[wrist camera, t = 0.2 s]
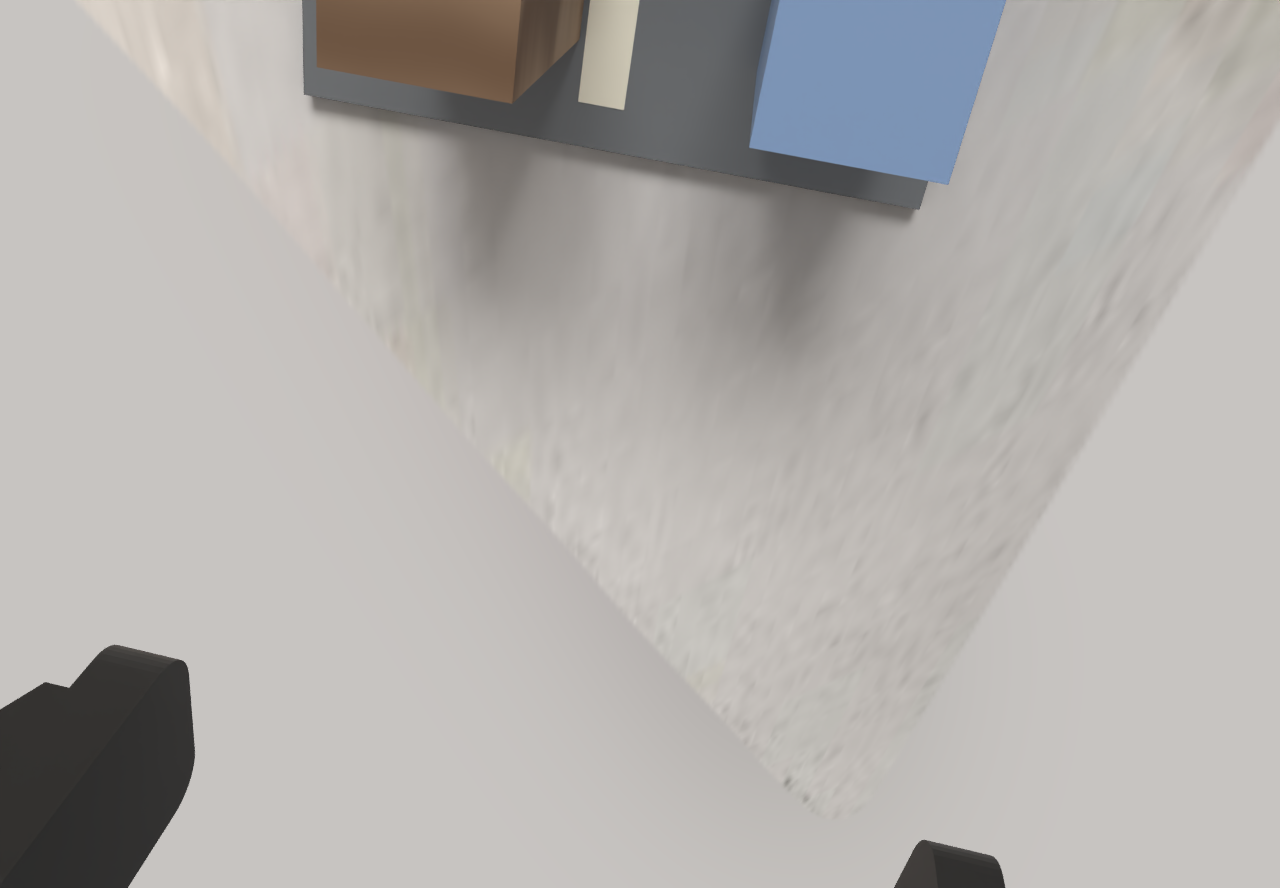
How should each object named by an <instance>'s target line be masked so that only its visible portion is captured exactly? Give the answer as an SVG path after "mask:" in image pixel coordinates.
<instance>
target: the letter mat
mask: <svg viewBox="0 0 1280 888" xmlns="http://www.w3.org/2000/svg"><path fill="white" fill-rule="evenodd" d="M770 5H771V0H584V5H583V13H582V22H581V31H580V39H579V40H578V41H577V42H576V43H575V44H574V45H573V46H572V47H571V48H570V49H569V50H568V51H567V52H566V53H565V54H564V55H563V56H562V57H561V58H560V59H559V60H557V61H556V62H555V63H554V64H553V65H552V66H551V67H550V68H549V69H548V70H547V71H546V72H545V73H544V74H543V75H542V76H541V77H540V78H539V79H538V80H537V81H535V82H534V83H533V84H532V85H531V86H530V87H529V88H528V89H527V90H526V91H525V92H524V93H523V94H522V95H521V96H520V97H519V98H518V99H517V100H516V101H515V102H513V103H512V104H511V103H505V102H500V101H495V100H489V99H484V98H479V97H473V96H468V95H463V94H457V93H452V92H447V91H441V90H436V89H430V88H425V87H420V86H414V85H409V84H404V83H398V82H393V81H388V80H382V79H377V78H372V77H366V76H361V75H355V74H350V73H345V72H339V71H334V70H329V69H323V68H318V67H317V46H316V0H302V8H303V71H304V95H310V96H315V97H320V98H326V99H331V100H336V101H342V102H347V103H352V104H358V105H363V106H368V107H374V108H379V109H384V110H390V111H395V112H400V113H406V114H411V115H416V116H422V117H427V118H432V119H438V120H443V121H448V122H454V123H459V124H464V125H470V126H475V127H480V128H486V129H491V130H496V131H502V132H507V133H512V134H518V135H523V136H528V137H534V138H539V139H544V140H550V141H555V142H560V143H566V144H571V145H576V146H582V147H587V148H592V149H598V150H603V151H608V152H614V153H619V154H624V155H630V156H635V157H640V158H646V159H651V160H656V161H662V162H667V163H672V164H678V165H683V166H688V167H694V168H699V169H704V170H710V171H715V172H720V173H726V174H731V175H736V176H742V177H747V178H752V179H758V180H763V181H768V182H774V183H779V184H784V185H790V186H795V187H800V188H806V189H811V190H816V191H822V192H827V193H832V194H838V195H843V196H848V197H854V198H859V199H864V200H870V201H875V202H880V203H886V204H891V205H897V206H902V207H907V208H913V209H918V210H919V209H920V206H921V203H922V199H923V196H924V193H925V190H926V186H927V183H928V181H925V180H920V179H915V178H909V177H904V176H899V175H893V174H888V173H883V172H877V171H872V170H866V169H861V168H856V167H850V166H845V165H840V164H834V163H829V162H824V161H818V160H813V159H808V158H802V157H797V156H791V155H786V154H781V153H775V152H770V151H765V150H759V149H754V148H749V143H750V134H751V124H752V114H753V104H754V94H755V85H756V75H757V69H758V64H759V59H760V54H761V49H762V44H763V39H764V34H765V29H766V24H767V19H768V15H769V10H770Z"/></svg>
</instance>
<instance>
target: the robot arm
mask: <svg viewBox="0 0 1280 888" xmlns="http://www.w3.org/2000/svg"><path fill="white" fill-rule="evenodd" d="M194 759H195V747H194V734H193V721H192V709H191V696H190V684H189V672H188V668H187V665H186V663H185V662H184V661H182V660H178V659H174V658H169V657H166V656H162V655H157V654H153V653H149V652H145V651H141V650H136V649H132V648H128V647H124V646H120V645H112V646H109V647H107V648H106V649H104V650H103V651H101V652H100V653H99V654H98V655H97V656H96V657H95V659H94V660H93V661H92V662H91V663H90V664H89V665H88V667H87V668H86V669H85V670H84V671H83V672H82V674H81V675H80V676H79V677H78V678H77V680H76V681H75V682H74V683H73V684H72V685H71V687H70V688H67V687H63V686H59V685H54V684H50V683H46V682H45V683H43V684H41V685H40V686H38V687H36V688H35V689H33V690H32V691H30V692H28V693H27V694H25V695H23V696H22V697H20V698H19V699H17V700H15V701H14V702H12V703H10V704H9V705H7V706H5V707H4V708H2V709H1V710H0V888H128V886H129V885H130V883H131V882H132V880H133V879H134V877H135V875H136V874H137V872H138V871H139V869H140V868H141V866H142V864H143V863H144V861H145V860H146V858H147V857H148V855H149V853H150V852H151V850H152V849H153V847H154V846H155V844H156V843H157V841H158V839H159V838H160V836H161V835H162V833H163V832H164V830H165V828H166V827H167V825H168V824H169V822H170V820H171V819H172V817H173V816H174V814H175V813H176V811H177V809H178V807H179V805H180V804H181V802H182V799H183V797H184V795H185V793H186V790H187V787H188V784H189V781H190V778H191V775H192V771H193V766H194ZM894 888H1005V884H1004V879H1003V874H1002V871H1001V868H1000V865H999V863H998V861H997V860H996V859H995V858H994V857H993V856H990V855H986V854H982V853H977V852H973V851H969V850H965V849H961V848H957V847H953V846H948V845H944V844H940V843H935V842H931V841H927V840H922V841H920V842H919V843H918V844H917V845H916V847H915V848H914V850H913V852H912V854H911V856H910V858H909V860H908V862H907V864H906V866H905V868H904V870H903V871H902V873H901V875H900V877H899V879H898V881H897V883H896V885H895V887H894Z"/></svg>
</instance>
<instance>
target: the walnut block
mask: <svg viewBox="0 0 1280 888" xmlns="http://www.w3.org/2000/svg"><path fill="white" fill-rule="evenodd" d="M583 5H584V0H316V46H317V67H318V68H323V69H329V70H334V71H339V72H345V73H350V74H355V75H361V76H366V77H372V78H377V79H382V80H388V81H393V82H398V83H404V84H409V85H414V86H420V87H425V88H430V89H436V90H441V91H447V92H452V93H457V94H463V95H468V96H473V97H479V98H484V99H489V100H495V101H500V102H505V103H511V104H512V103H513V102H515V101H516V100H517V99H518V98H519V97H520V96H521V95H522V94H523V93H524V92H525V91H526V90H527V89H528V88H529V87H530V86H531V85H532V84H533V83H534V82H535V81H537V80H538V79H539V78H540V77H541V76H542V75H543V74H544V73H545V72H546V71H547V70H548V69H549V68H550V67H551V66H552V65H553V64H554V63H555V62H556V61H557V60H559V59H560V58H561V57H562V56H563V55H564V54H565V53H566V52H567V51H568V50H569V49H570V48H571V47H572V46H573V45H574V44H575V43H576V42H577V41H578V40H579V39H580V31H581V22H582V13H583Z"/></svg>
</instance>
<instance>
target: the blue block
mask: <svg viewBox="0 0 1280 888" xmlns="http://www.w3.org/2000/svg"><path fill="white" fill-rule="evenodd" d="M1005 2H1006V0H771V5H770V10H769V15H768V19H767V24H766V29H765V34H764V39H763V44H762V49H761V54H760V59H759V64H758V69H757V75H756V85H755V94H754V104H753V114H752V124H751V134H750V143H749V148H754V149H759V150H765V151H770V152H775V153H781V154H786V155H791V156H797V157H802V158H808V159H813V160H818V161H824V162H829V163H834V164H840V165H845V166H850V167H856V168H861V169H866V170H872V171H877V172H883V173H888V174H893V175H899V176H904V177H909V178H915V179H920V180H925V181H931V182H936V183H941V184H947V185H948V184H949V181H950V177H951V174H952V171H953V168H954V165H955V162H956V158H957V155H958V152H959V149H960V146H961V142H962V139H963V136H964V133H965V130H966V126H967V123H968V120H969V117H970V114H971V111H972V107H973V104H974V101H975V98H976V95H977V91H978V88H979V85H980V82H981V79H982V76H983V72H984V69H985V66H986V63H987V60H988V56H989V53H990V50H991V47H992V44H993V40H994V37H995V34H996V31H997V28H998V25H999V21H1000V18H1001V15H1002V12H1003V9H1004V5H1005Z"/></svg>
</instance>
